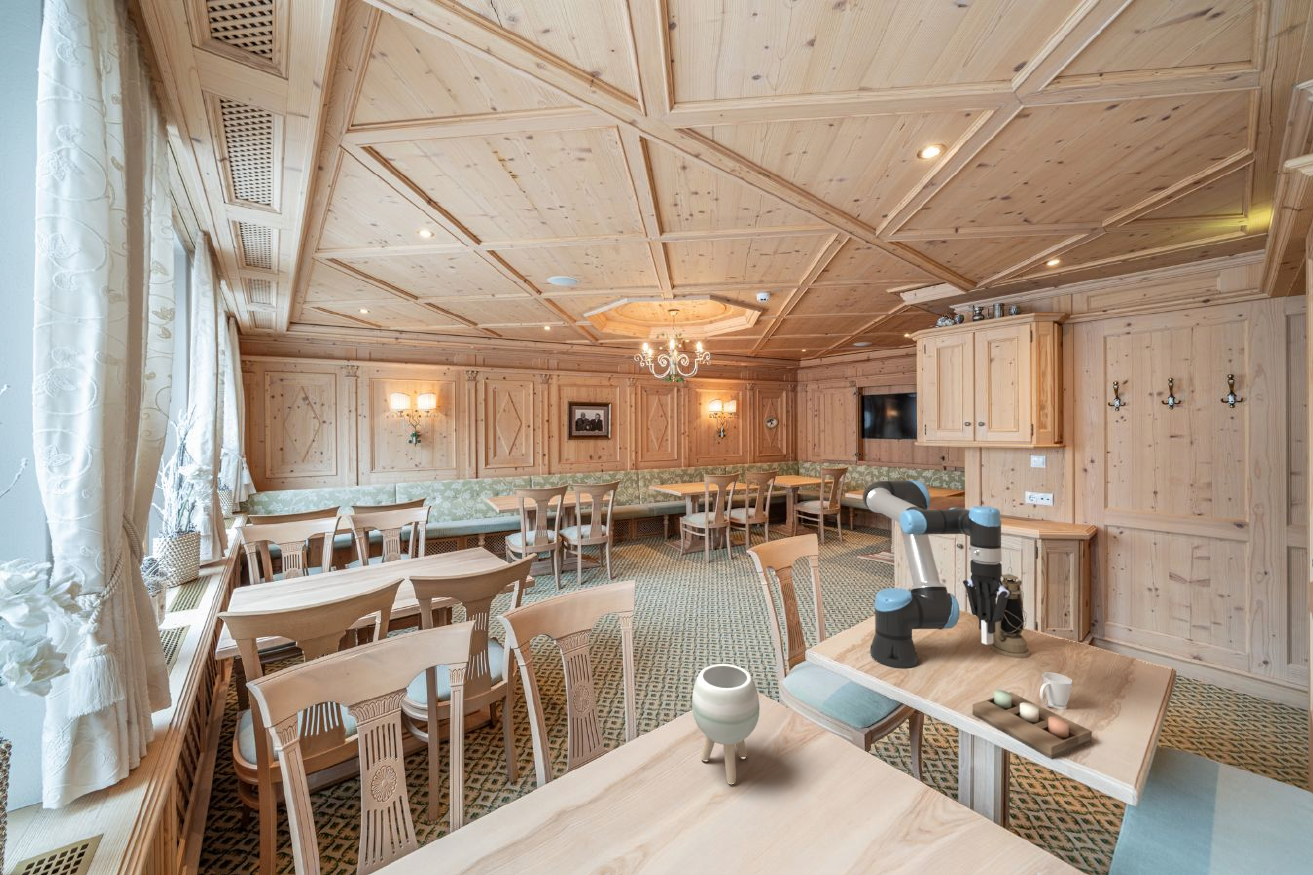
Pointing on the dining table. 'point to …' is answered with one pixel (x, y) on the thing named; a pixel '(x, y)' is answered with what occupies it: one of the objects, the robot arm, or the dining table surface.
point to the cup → (1056, 689)
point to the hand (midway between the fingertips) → (987, 642)
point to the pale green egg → (1002, 698)
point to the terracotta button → (1058, 727)
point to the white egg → (1029, 712)
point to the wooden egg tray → (1032, 727)
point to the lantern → (1011, 623)
